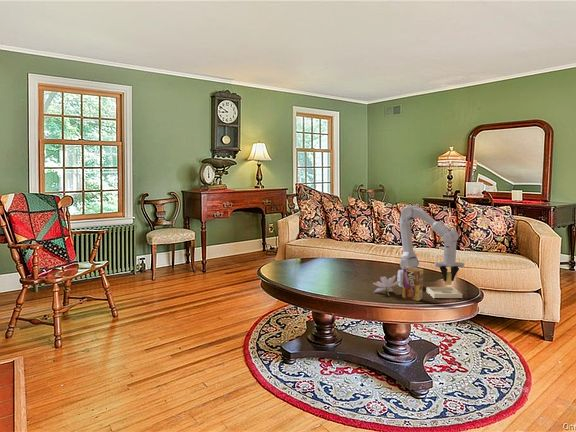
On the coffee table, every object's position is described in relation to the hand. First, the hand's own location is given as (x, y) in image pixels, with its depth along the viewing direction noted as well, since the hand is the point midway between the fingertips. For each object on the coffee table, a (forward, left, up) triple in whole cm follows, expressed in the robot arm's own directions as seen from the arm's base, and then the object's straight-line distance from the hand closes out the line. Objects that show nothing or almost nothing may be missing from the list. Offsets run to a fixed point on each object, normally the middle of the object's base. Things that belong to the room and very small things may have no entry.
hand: (448, 280), depth 216 cm
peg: (0, 0, -2) cm, 2 cm away
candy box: (-20, -6, -8) cm, 22 cm away
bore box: (-2, 0, -7) cm, 8 cm away
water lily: (-31, +2, -8) cm, 32 cm away
